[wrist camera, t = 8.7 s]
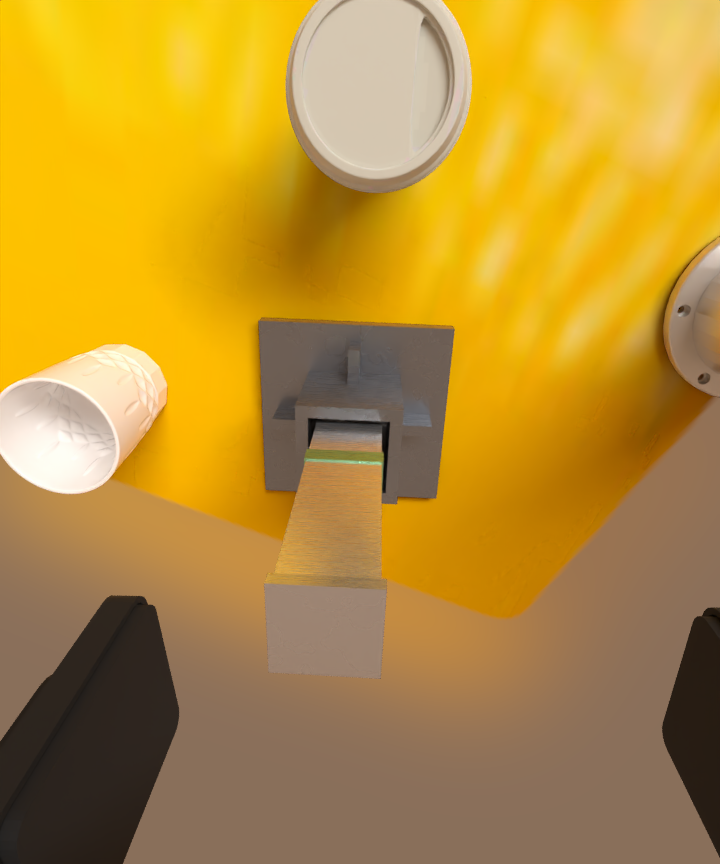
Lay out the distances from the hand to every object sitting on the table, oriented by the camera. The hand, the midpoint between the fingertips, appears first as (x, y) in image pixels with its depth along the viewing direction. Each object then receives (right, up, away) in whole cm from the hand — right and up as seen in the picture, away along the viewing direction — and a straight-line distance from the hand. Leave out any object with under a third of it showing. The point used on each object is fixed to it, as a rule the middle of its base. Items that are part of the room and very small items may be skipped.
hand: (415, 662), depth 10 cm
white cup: (-19, +8, +33) cm, 39 cm away
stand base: (-1, +6, +33) cm, 33 cm away
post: (-2, +3, +26) cm, 26 cm away
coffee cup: (0, +24, +25) cm, 35 cm away
